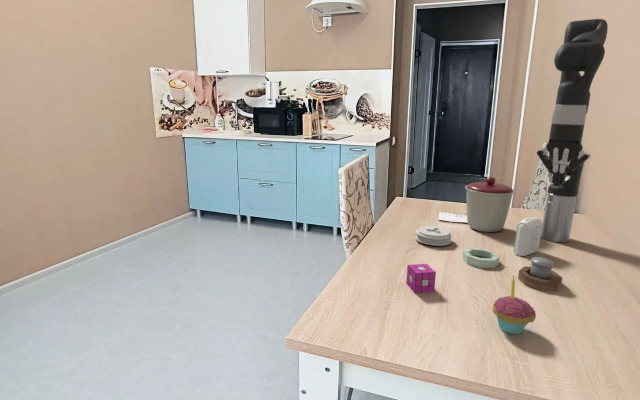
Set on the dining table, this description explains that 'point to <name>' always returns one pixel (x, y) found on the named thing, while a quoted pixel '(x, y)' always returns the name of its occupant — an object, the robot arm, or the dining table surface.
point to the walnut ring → (540, 280)
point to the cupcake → (513, 312)
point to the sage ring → (481, 257)
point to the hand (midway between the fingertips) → (557, 185)
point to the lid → (433, 235)
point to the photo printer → (528, 236)
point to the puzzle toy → (420, 278)
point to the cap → (541, 268)
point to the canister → (488, 205)
